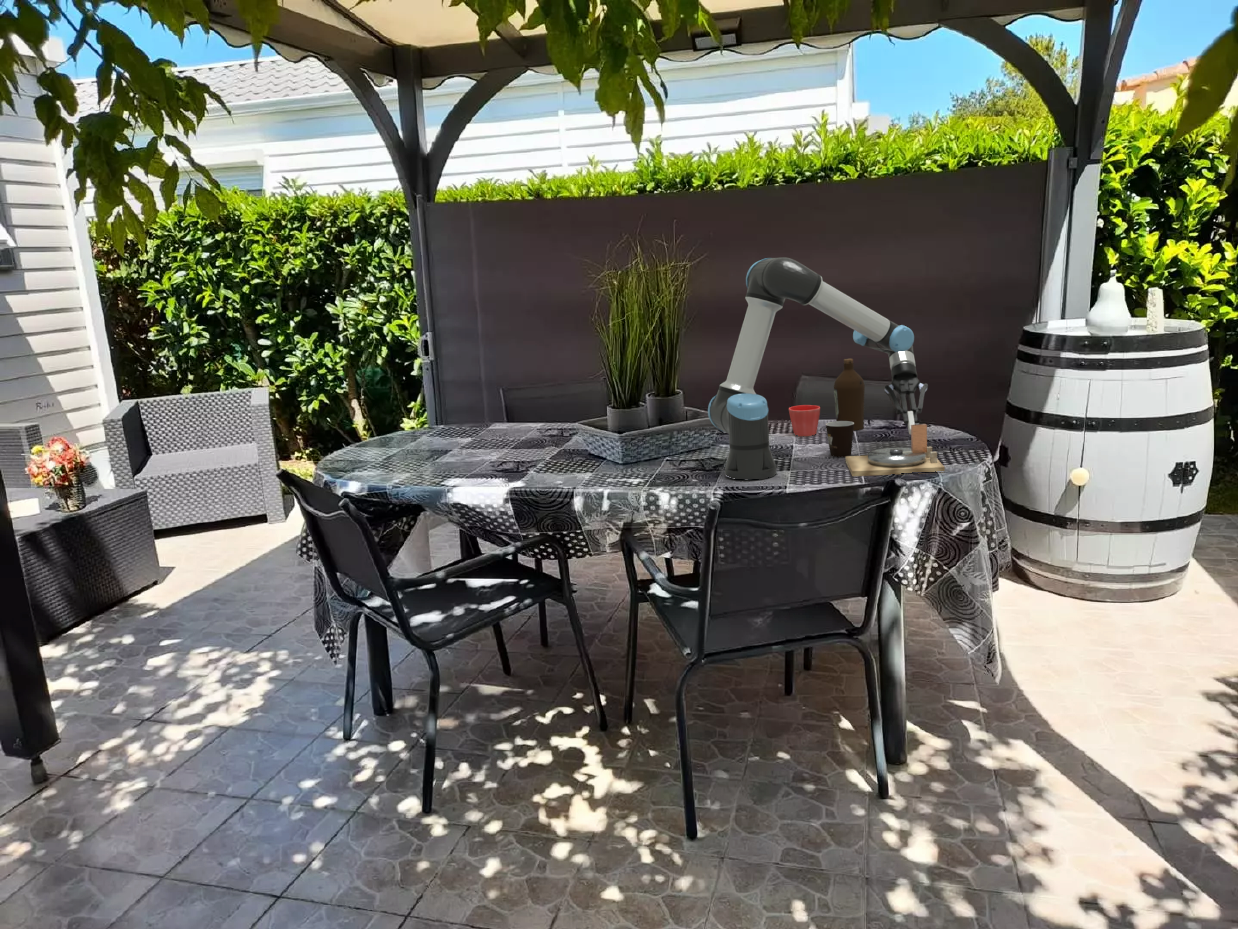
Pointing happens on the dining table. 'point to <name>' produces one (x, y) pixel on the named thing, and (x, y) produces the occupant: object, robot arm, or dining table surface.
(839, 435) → the coffee mug
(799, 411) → the flower pot
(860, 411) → the olive oil
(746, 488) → the dining table surface
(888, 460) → the disc
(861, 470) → the tan record player
